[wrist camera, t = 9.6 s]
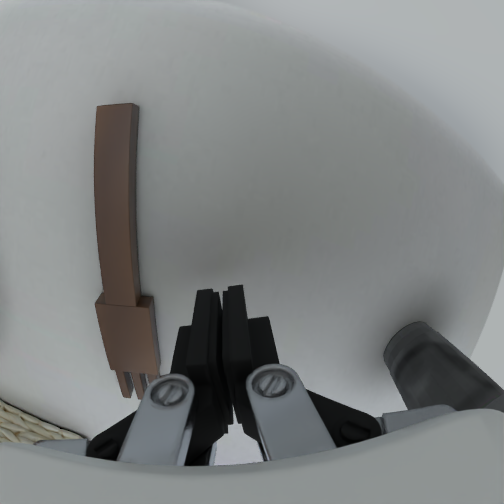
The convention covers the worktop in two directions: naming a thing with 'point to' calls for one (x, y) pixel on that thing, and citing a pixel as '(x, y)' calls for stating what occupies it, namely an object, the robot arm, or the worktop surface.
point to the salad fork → (121, 252)
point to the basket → (28, 427)
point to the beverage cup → (438, 372)
